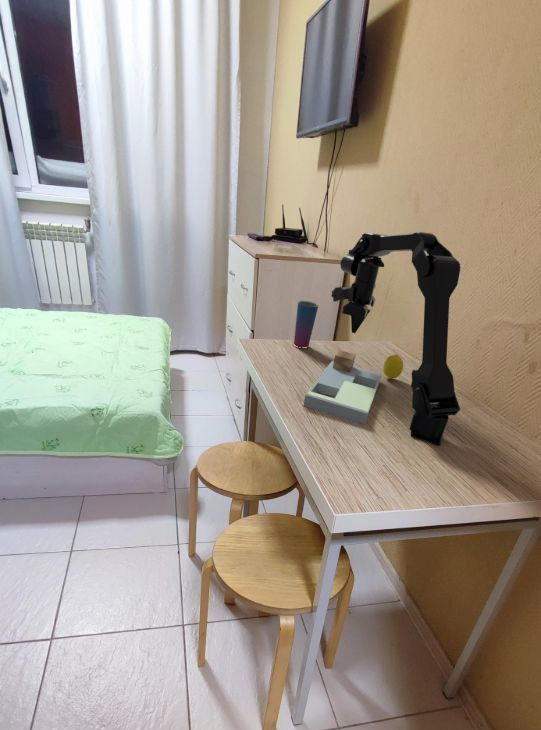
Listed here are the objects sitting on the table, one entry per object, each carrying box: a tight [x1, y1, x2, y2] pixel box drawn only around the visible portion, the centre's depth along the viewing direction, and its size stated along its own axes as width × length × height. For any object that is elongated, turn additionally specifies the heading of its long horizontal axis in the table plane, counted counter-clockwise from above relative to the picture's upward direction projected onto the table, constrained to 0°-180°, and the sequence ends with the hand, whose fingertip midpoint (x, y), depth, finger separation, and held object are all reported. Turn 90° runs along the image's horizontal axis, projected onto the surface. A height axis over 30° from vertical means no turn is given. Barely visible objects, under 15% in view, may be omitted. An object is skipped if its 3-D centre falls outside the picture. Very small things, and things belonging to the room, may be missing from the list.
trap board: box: [303, 360, 382, 425], centre depth 101 cm, size 15×27×3 cm, turn 157°
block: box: [333, 349, 357, 373], centre depth 110 cm, size 5×5×4 cm
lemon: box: [382, 354, 404, 380], centre depth 112 cm, size 6×6×8 cm
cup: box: [293, 300, 319, 347], centre depth 127 cm, size 7×7×15 cm
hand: (353, 332), depth 112 cm, fingers closed
